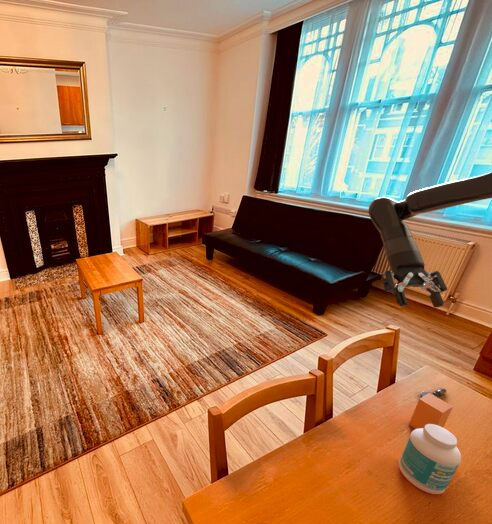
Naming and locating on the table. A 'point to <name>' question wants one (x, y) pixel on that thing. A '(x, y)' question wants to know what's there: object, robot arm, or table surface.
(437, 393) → the grey oval keychain
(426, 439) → the pill bottle
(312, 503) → the table surface
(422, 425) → the orange rectangular block
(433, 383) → the table surface
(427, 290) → the robot arm
